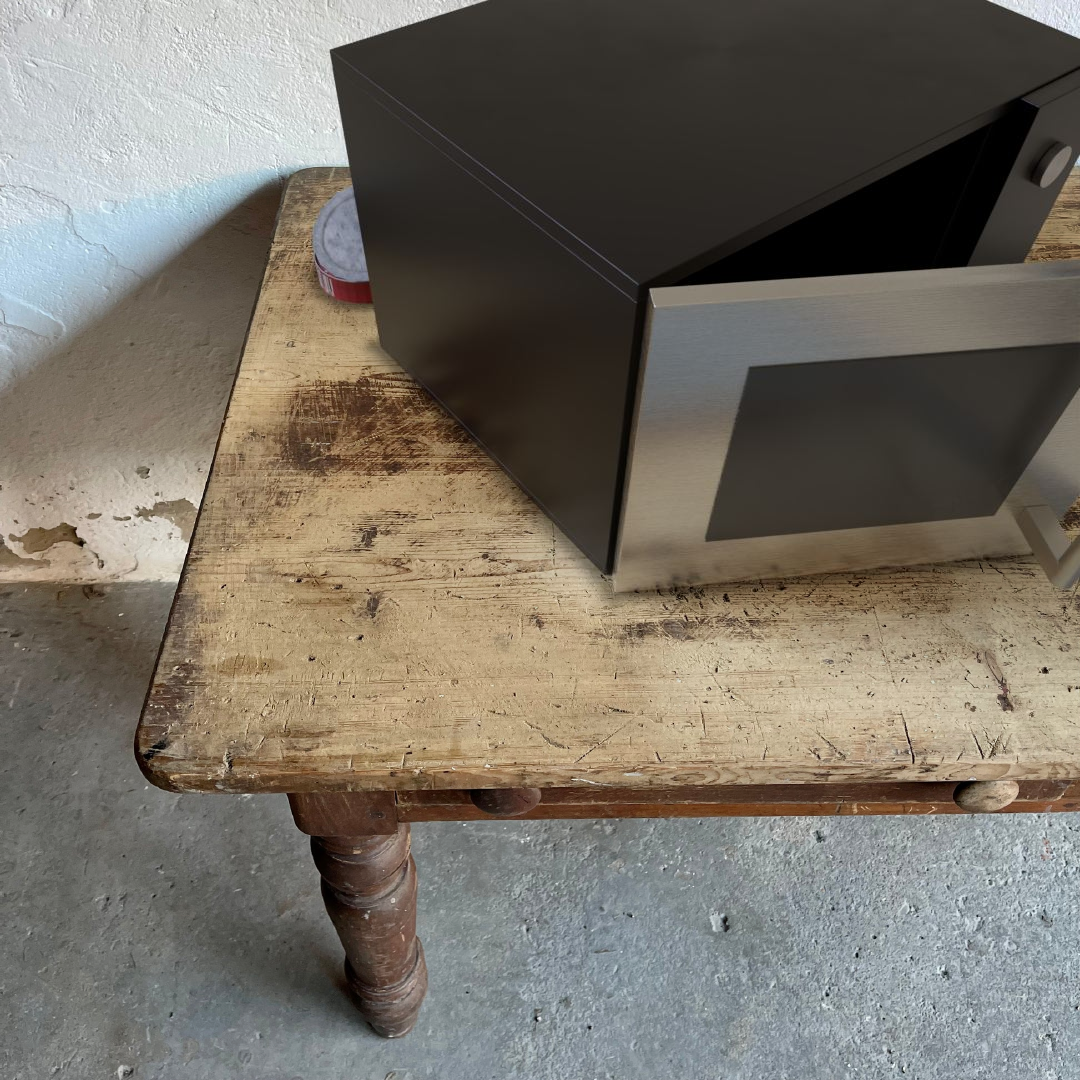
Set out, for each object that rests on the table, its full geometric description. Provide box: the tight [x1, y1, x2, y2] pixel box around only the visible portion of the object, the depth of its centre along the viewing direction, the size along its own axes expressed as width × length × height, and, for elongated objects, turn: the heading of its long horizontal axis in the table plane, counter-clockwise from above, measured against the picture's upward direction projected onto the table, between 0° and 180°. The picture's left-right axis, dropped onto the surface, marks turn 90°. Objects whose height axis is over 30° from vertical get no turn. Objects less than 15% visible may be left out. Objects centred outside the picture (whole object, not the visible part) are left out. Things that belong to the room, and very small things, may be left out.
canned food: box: [312, 184, 373, 304], centre depth 91 cm, size 11×10×10 cm
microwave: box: [329, 0, 1080, 576], centre depth 76 cm, size 36×46×28 cm
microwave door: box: [611, 258, 1080, 594], centre depth 58 cm, size 8×35×28 cm, turn 97°
